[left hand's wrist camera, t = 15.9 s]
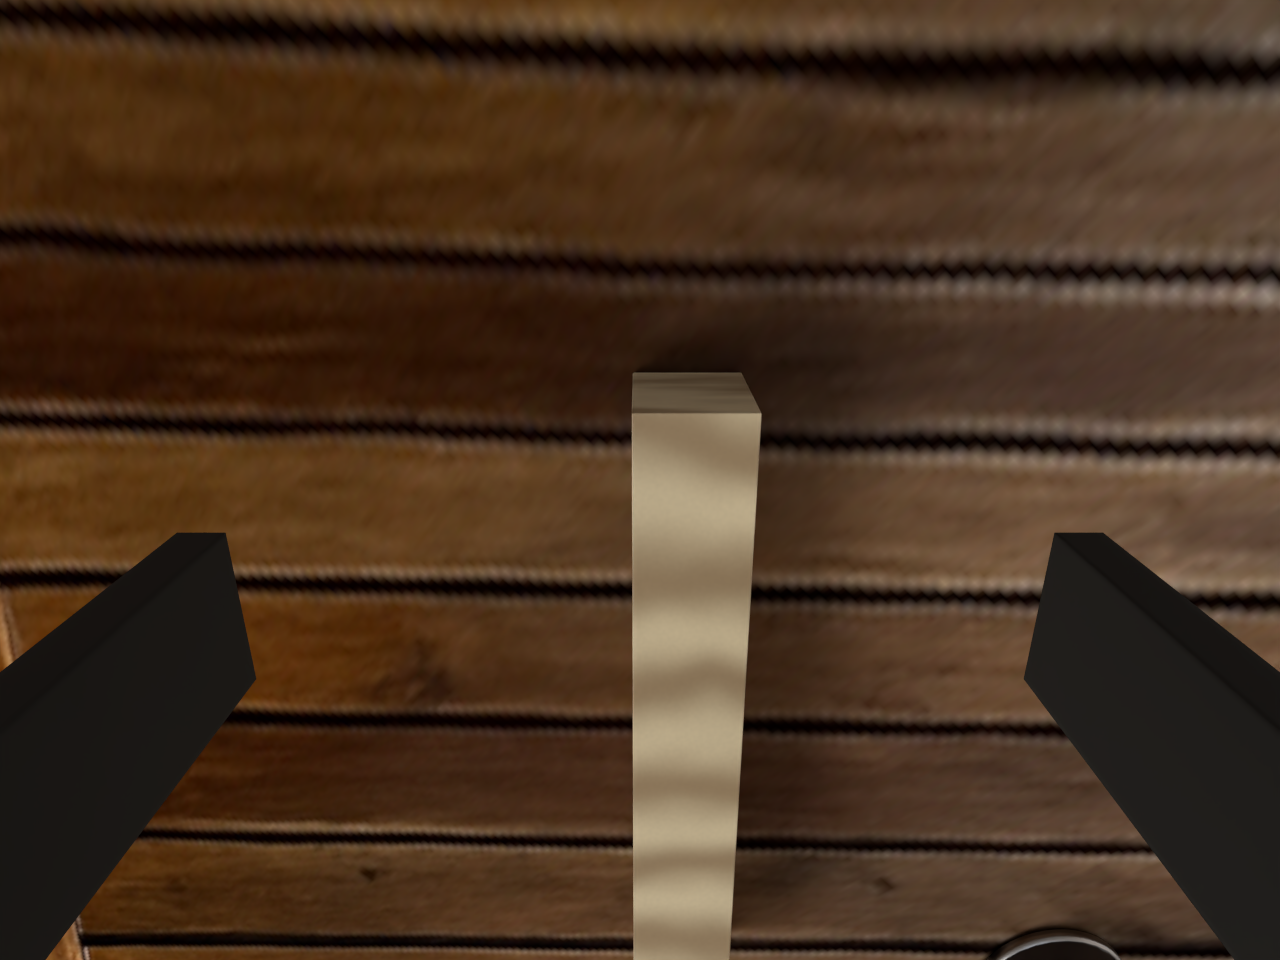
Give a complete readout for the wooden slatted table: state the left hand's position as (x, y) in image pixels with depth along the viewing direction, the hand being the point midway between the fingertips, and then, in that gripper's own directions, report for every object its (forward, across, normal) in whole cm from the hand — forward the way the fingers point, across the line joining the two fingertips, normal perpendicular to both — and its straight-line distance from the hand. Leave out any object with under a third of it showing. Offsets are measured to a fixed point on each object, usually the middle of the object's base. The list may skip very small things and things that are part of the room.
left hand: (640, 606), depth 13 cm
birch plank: (+25, -2, +20) cm, 32 cm away
